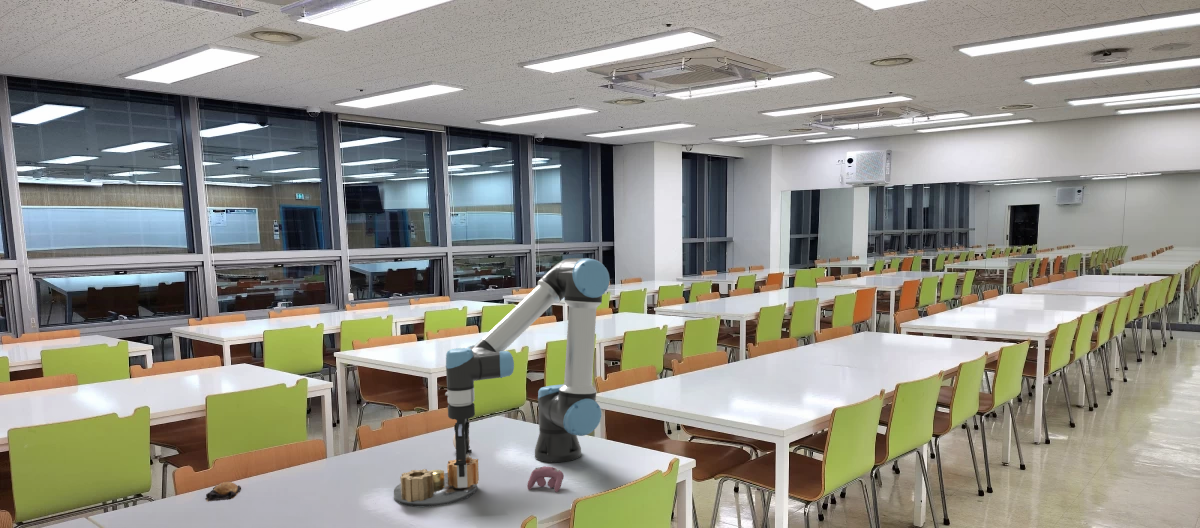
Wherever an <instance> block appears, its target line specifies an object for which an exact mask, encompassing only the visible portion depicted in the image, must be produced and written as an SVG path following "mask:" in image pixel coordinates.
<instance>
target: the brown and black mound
mask: <svg viewBox="0 0 1200 528" xmlns="http://www.w3.org/2000/svg"><path fill="white" fill-rule="evenodd" d="M241 490H242V486H241V485H238V484H236V483H234V482H231V481H224V482H220V483H218V485H215V486H214V487H213V488H212V490H210V491H209V492H207V493H206V495H205V497H206V502H207V503H208V502H217V501H227V500H232V499H234V498H236V497H237V496H238V494H239V493H240V492H241Z"/></svg>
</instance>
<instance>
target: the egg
mask: <svg viewBox="0 0 1200 528" xmlns="http://www.w3.org/2000/svg"><path fill="white" fill-rule="evenodd" d="M470 441H471V439H470V438H469V444H470V443H471V442H470ZM452 443H453V447H454V449H455V450H456V439H455V433H454V434H453V438H452Z"/></svg>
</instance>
